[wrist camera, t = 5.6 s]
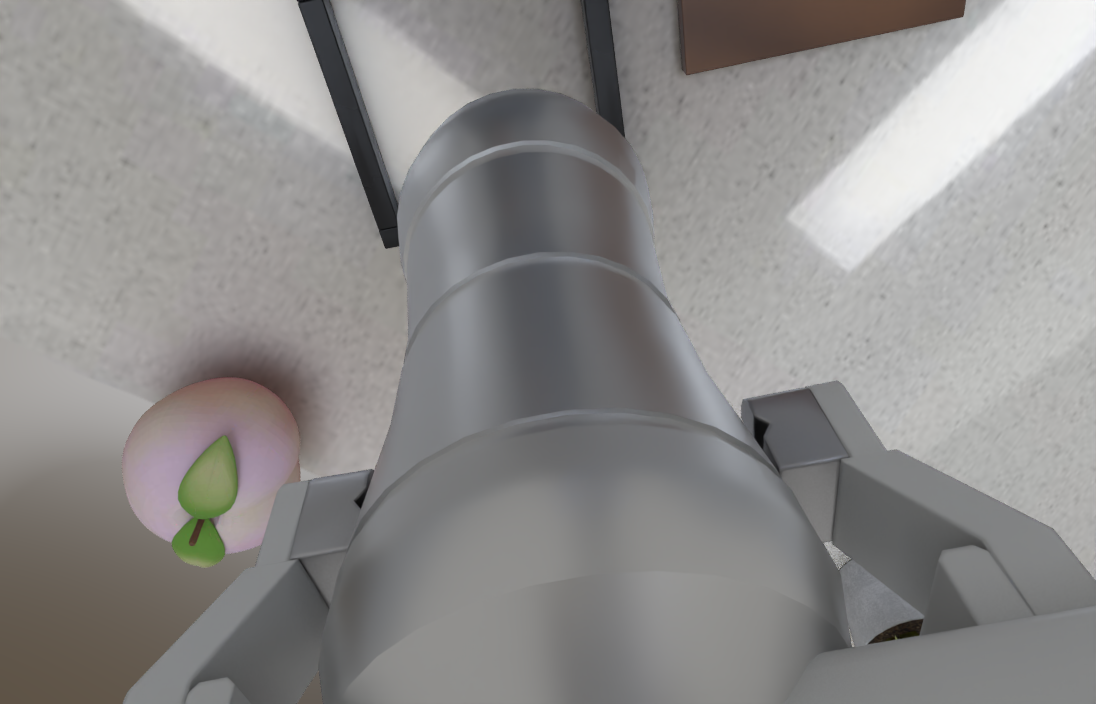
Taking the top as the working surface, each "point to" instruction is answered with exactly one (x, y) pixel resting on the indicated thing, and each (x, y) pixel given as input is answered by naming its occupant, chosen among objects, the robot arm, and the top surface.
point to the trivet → (791, 26)
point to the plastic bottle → (563, 455)
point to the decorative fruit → (211, 466)
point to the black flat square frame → (357, 121)
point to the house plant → (876, 609)
